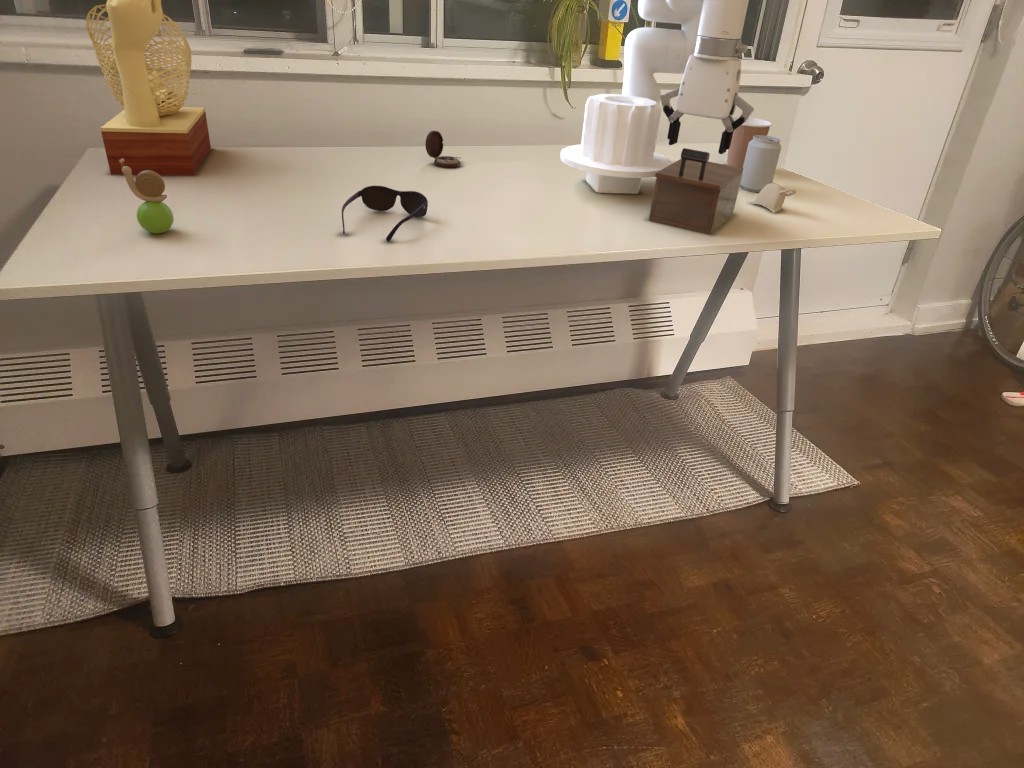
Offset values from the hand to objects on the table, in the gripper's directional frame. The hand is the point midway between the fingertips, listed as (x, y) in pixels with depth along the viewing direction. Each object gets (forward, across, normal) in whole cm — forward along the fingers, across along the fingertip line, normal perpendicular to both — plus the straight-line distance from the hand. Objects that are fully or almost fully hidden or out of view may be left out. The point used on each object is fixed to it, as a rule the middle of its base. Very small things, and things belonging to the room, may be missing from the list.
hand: (697, 148), depth 133 cm
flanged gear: (+15, +22, -16) cm, 31 cm away
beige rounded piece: (+15, -12, -26) cm, 33 cm away
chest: (+15, 0, -7) cm, 17 cm away
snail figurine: (+16, +70, +67) cm, 98 cm away
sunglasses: (+16, +44, +39) cm, 61 cm away
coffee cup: (+15, +3, -58) cm, 60 cm away
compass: (+15, +61, -6) cm, 63 cm away
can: (+15, -5, -40) cm, 43 cm away
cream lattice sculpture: (+15, +107, +38) cm, 114 cm away
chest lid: (+6, 0, -7) cm, 9 cm away
